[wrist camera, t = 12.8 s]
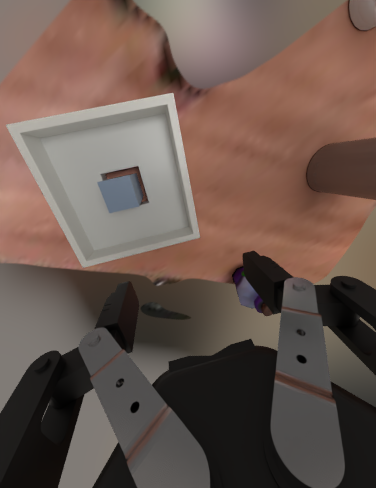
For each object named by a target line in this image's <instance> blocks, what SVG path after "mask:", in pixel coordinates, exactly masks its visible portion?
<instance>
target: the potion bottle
mask: <svg viewBox="0 0 376 488" xmlns="http://www.w3.org/2000/svg"><path fill="white" fill-rule="evenodd" d="M232 277H233V281H234V283H235V285H236V289H237V294H238V297H239V300H240V303H241V305H243V306H246V307H249V308H256V310H257V311H258V312H260V313H263V314H264V315H265V316H270V315H272V314H273V313H272V312H271V311H270V309H269V308H268V307H267V305H266V304H265V303H264V302H263V300H262V299H261V298H260V296H259V295H258V294H257V293H256V291H255V290H254V289H253V287H252V286H251V285H250V284H249V282H248V281H247V280H246V278H245V275H244V268H243V266H242V267H240V268H237V269H236V270H235V272H234V273H233V275H232Z"/></svg>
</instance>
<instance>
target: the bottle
mask: <svg viewBox="0 0 376 488" xmlns="http://www.w3.org/2000/svg"><path fill="white" fill-rule="evenodd" d="M349 11H350V18H351V20H352V22H353V24H354V26H355V27H357V28H358V29H360V30H369V29H371V28H373V27H375V26H376V0H350V3H349Z"/></svg>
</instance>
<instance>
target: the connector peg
mask: <svg viewBox="0 0 376 488" xmlns="http://www.w3.org/2000/svg"><path fill="white" fill-rule="evenodd" d="M97 183H98V186H99V188H100V191H101V193H102V196H103V198H104V201H105V203H106V206H107V209H108V211H109V213H113V212H118V211H122V210H126V209H130V208H135V207H139V206H140V203H141V201H142V199H143V196H144V195H143V192H142V189H141V185H140V182H139V179H138V175H137V173H135V174H130V175H126V176H121V177H117V178H112V179H108V180H104V181H100V182H97Z"/></svg>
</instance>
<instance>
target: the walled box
mask: <svg viewBox="0 0 376 488" xmlns="http://www.w3.org/2000/svg"><path fill="white" fill-rule="evenodd" d="M6 126H7V128H8V130H9V132H10V134H11V136H12V137H13V139H14V141H15V143H16V145H17V147H18V149H19V150H20V152H21V154H22V156H23V158H24V160H25V162H26V163H27V165H28V167H29V169H30V171H31V173H32V175H33V176H34V178H35V180H36V182H37V184H38V186H39V187H40V189H41V191H42V193H43V195H44V197H45V199H46V200H47V202H48V204H49V206H50V208H51V210H52V212H53V213H54V215H55V217H56V219H57V221H58V223H59V224H60V226H61V228H62V230H63V232H64V234H65V236H66V237H67V239H68V241H69V243H70V245H71V247H72V249H73V250H74V252H75V254H76V256H77V258H78V260H79V261H80V263H81V265H82V267H83V268H84V267H88V266H92V265H96V264H100V263H104V262H107V261H111V260H115V259H119V258H123V257H127V256H131V255H135V254H139V253H143V252H146V251H150V250H154V249H158V248H162V247H166V246H170V245H174V244H178V243H182V242H185V241H189V240H193V239H197V238H200V234H199V229H198V223H197V218H196V213H195V207H194V202H193V196H192V191H191V186H190V180H189V175H188V170H187V164H186V159H185V153H184V148H183V143H182V137H181V132H180V127H179V121H178V116H177V110H176V105H175V100H174V94H173V93H170V94H164V95H159V96H154V97H149V98H143V99H138V100H133V101H128V102H123V103H117V104H112V105H107V106H102V107H96V108H91V109H86V110H81V111H75V112H70V113H65V114H60V115H55V116H49V117H44V118H39V119H34V120H28V121H23V122H18V123H13V124H7V125H6ZM137 166H138V167H139V170H140V173H141V177H142V180H143V184H144V187H145V190H146V194H147V197H148V201H144V202H141V203H140V206H139V207H135V208H130V209H126V210H122V211H118V212H113V213H109V211H108V209H107V206H106V203H105V201H104V198H103V196H102V193H101V191H100V188H99V186H98V183H97V182H100V181H104V180H108V179H107V177H106V173H110V172H115V171H119V170H124V169H128V168H133V167H137Z"/></svg>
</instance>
